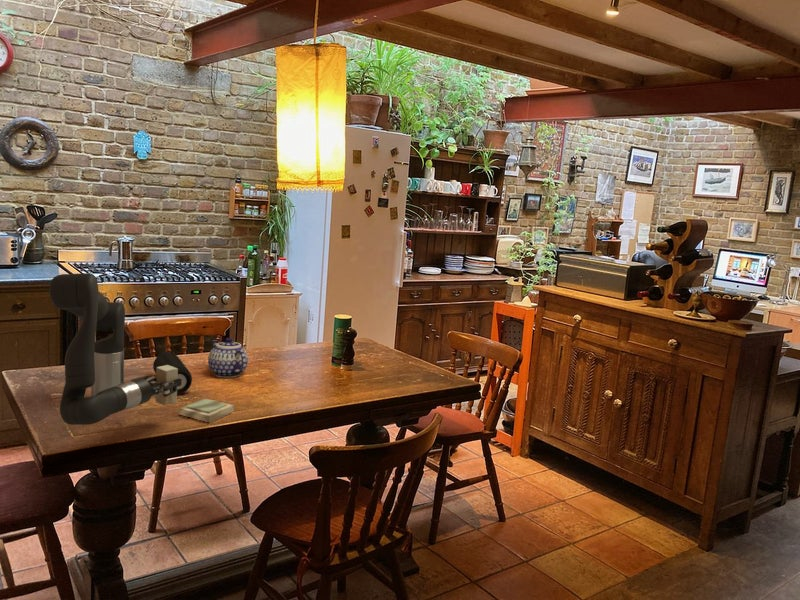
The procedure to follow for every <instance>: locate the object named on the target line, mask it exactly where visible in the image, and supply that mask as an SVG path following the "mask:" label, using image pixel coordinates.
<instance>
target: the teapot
mask: <svg viewBox="0 0 800 600" xmlns="http://www.w3.org/2000/svg"><path fill="white" fill-rule="evenodd" d="M212 345H213V348H212V349H211V350H210V351H209V354H208V358H207V361H208V362H207V364H208V368H209V370H210V372H211V373H213V374H214V376H215V375H216V376H215V377H217V376H218V377H217V378H221V377H223V378H222V379H231V378H237V376H238V377H240V376H241V375H242V373H244V372H245V370H246V368H247V367H248V361H249V356H248V352H247V349H245V348H244V347H243V346H242V344H241V343H240V342H235V341H233V338H232V337H226V338H225V341H221V342H220V341H219V340H217V339H216V340H215V339H214V340H212Z"/></svg>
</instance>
